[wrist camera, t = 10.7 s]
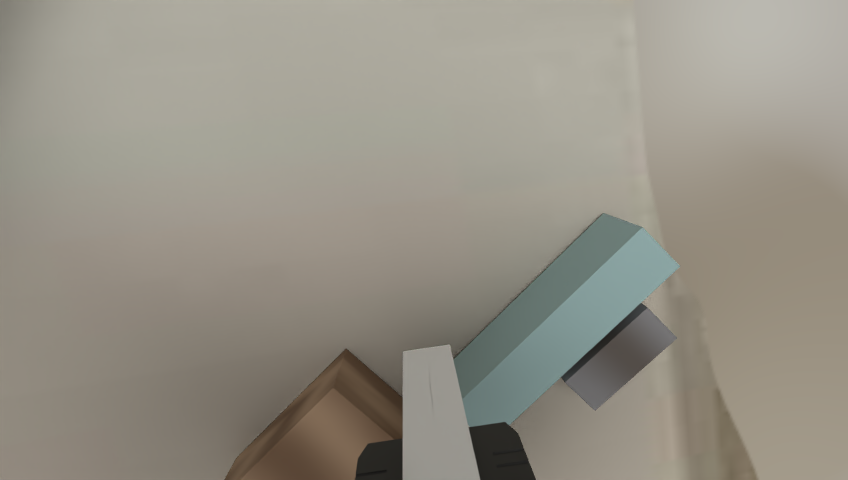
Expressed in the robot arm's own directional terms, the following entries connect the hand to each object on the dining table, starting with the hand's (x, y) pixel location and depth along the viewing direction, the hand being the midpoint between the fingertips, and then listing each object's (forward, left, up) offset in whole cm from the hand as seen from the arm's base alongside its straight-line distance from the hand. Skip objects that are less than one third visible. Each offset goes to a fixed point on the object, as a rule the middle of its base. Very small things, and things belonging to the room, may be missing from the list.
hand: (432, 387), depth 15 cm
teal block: (+3, -7, -15) cm, 17 cm away
